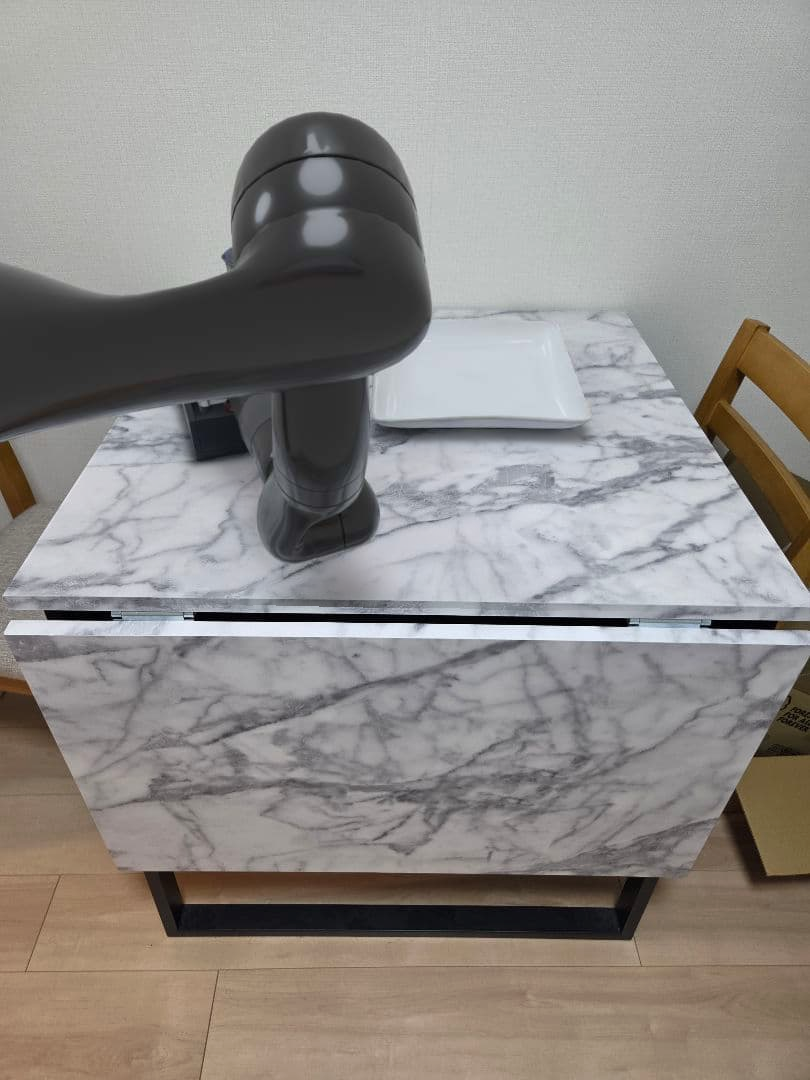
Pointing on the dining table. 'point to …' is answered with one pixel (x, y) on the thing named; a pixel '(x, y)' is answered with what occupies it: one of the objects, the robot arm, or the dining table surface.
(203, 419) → the black open box
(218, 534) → the dining table surface
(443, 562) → the dining table surface
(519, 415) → the square plate
